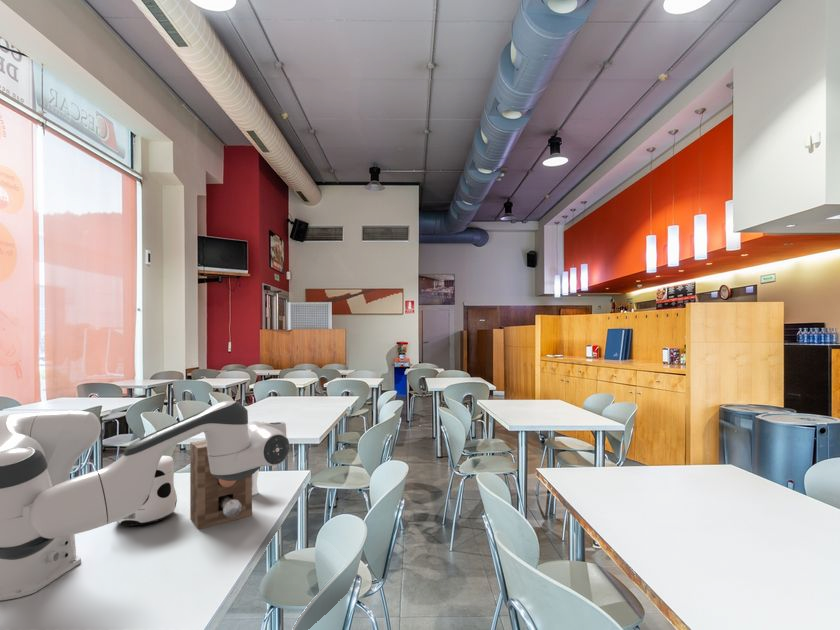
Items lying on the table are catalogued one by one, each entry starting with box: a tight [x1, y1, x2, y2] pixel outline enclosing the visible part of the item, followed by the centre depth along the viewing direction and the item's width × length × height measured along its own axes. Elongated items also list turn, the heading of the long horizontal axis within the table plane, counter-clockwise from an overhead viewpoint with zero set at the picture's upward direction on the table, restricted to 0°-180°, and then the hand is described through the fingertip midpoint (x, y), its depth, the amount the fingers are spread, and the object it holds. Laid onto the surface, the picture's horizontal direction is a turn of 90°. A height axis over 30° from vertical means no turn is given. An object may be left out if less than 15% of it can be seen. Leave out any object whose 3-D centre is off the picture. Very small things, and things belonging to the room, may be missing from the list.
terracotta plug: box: [219, 479, 236, 487], centre depth 145 cm, size 8×5×5 cm, turn 38°
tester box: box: [189, 439, 253, 530], centre depth 147 cm, size 10×16×24 cm, turn 128°
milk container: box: [115, 455, 178, 527], centre depth 147 cm, size 17×17×18 cm
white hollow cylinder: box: [252, 468, 260, 497], centre depth 168 cm, size 7×7×15 cm
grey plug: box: [218, 495, 242, 518], centre depth 141 cm, size 8×5×5 cm, turn 38°
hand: (238, 431), depth 134 cm, fingers closed
